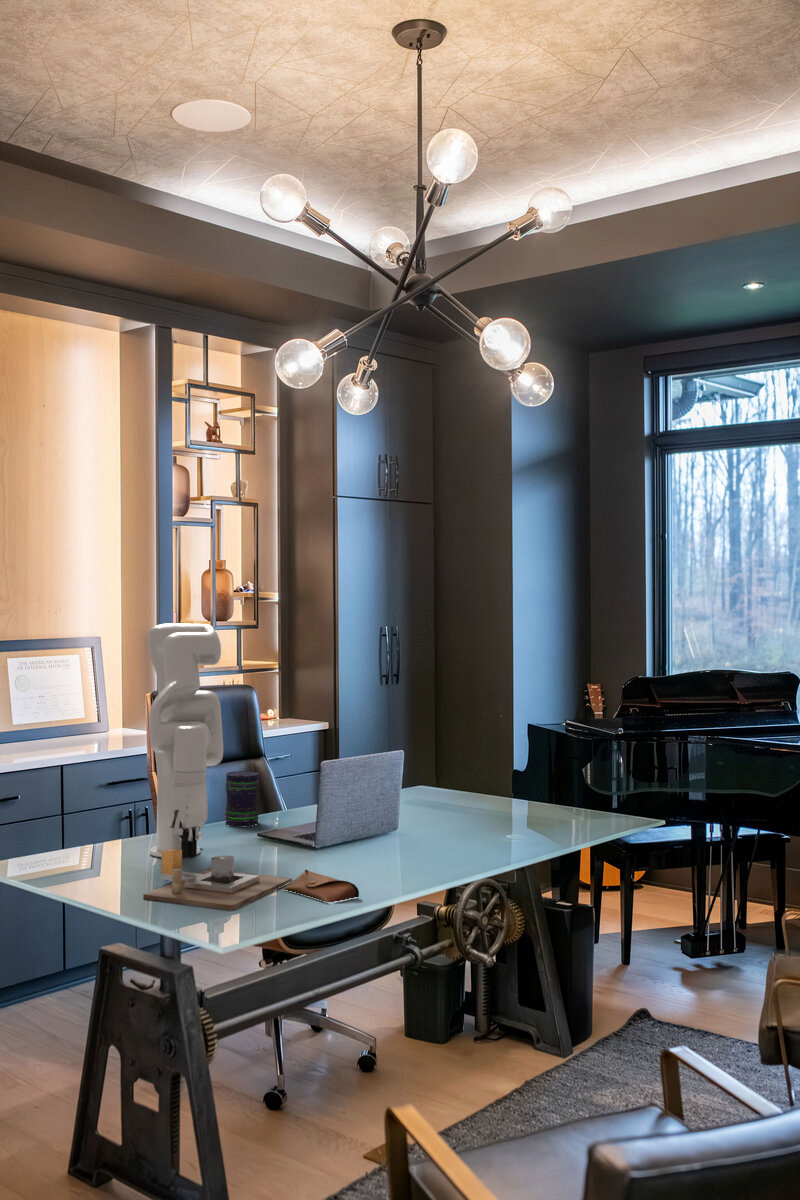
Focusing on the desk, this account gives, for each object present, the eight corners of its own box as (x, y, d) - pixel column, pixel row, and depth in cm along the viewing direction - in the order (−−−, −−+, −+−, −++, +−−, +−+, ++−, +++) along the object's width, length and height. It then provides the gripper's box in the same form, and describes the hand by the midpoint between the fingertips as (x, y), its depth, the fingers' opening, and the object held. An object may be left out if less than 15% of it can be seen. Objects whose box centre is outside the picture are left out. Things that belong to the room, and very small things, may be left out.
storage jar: (228, 820, 319) (229, 770, 319) (261, 821, 319) (261, 771, 319) (221, 827, 309) (222, 775, 309) (255, 827, 309) (256, 776, 309)
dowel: (175, 891, 230) (175, 868, 230) (183, 892, 229) (183, 869, 229) (170, 893, 228) (170, 870, 228) (178, 894, 227) (178, 871, 227)
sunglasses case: (277, 889, 236) (289, 861, 239) (298, 900, 241) (310, 873, 243) (330, 905, 224) (342, 875, 226) (351, 917, 228) (363, 887, 230)
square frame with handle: (259, 880, 239) (259, 853, 240) (231, 893, 228) (231, 864, 229) (181, 871, 248) (181, 845, 248) (150, 883, 236) (150, 855, 237)
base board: (209, 873, 251) (209, 869, 252) (291, 882, 243) (291, 878, 243) (143, 898, 227) (143, 894, 228) (231, 910, 219) (231, 905, 219)
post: (218, 881, 239) (219, 854, 240) (238, 883, 238) (238, 856, 238) (206, 886, 235) (207, 859, 235) (226, 888, 233) (226, 861, 233)
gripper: (194, 773, 257) (193, 849, 256) (157, 781, 243) (156, 862, 242) (220, 775, 254) (219, 852, 253) (185, 783, 240) (184, 865, 239)
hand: (188, 856), depth 248 cm, fingers closed
